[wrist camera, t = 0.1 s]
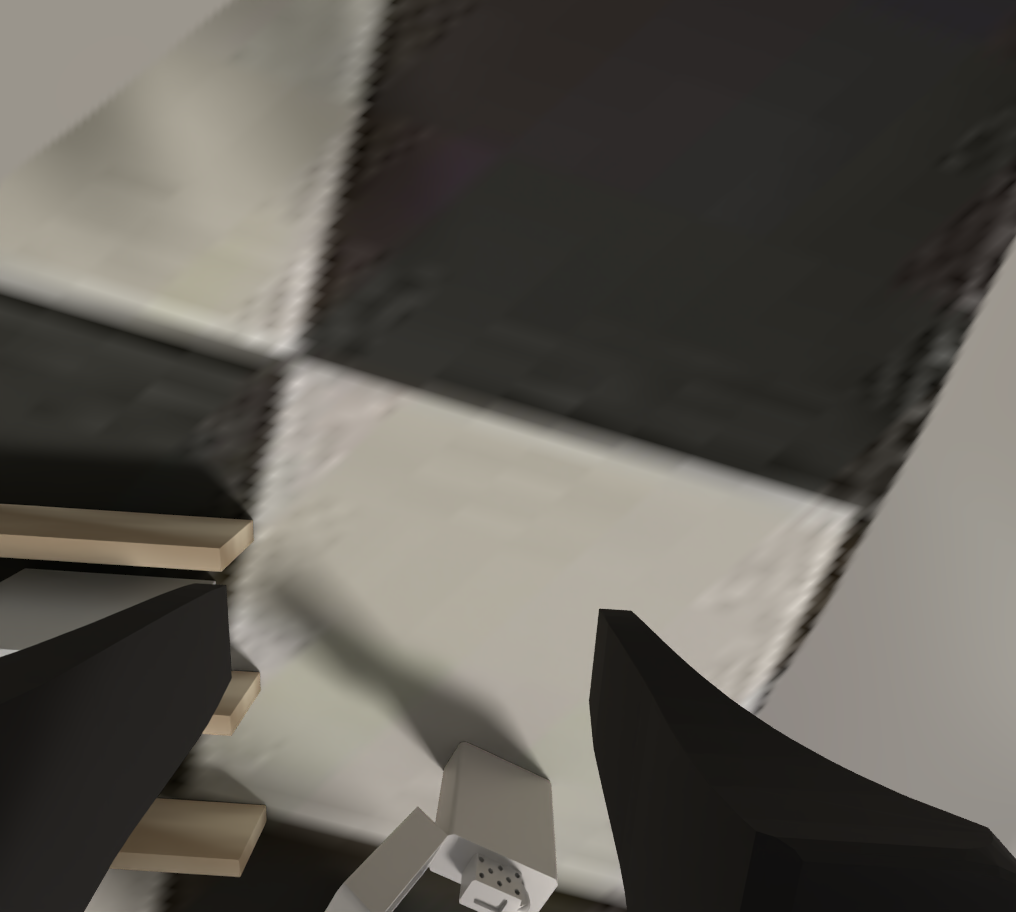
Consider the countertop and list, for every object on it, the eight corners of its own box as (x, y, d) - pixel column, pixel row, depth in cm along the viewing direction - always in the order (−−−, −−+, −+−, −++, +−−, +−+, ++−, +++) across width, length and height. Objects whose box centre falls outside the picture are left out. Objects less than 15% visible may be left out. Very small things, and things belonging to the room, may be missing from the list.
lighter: (553, 782, 25) (569, 1006, 17) (532, 813, 25) (538, 1045, 17) (393, 708, 24) (333, 906, 16) (374, 741, 24) (307, 950, 17)
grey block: (219, 628, 23) (140, 716, 18) (33, 616, 23) (-94, 701, 18) (216, 580, 23) (134, 657, 18) (26, 567, 23) (-107, 641, 18)
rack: (266, 821, 25) (240, 876, 23) (4, 804, 25) (-50, 858, 23) (252, 520, 22) (219, 548, 20) (-51, 500, 22) (-121, 526, 20)
